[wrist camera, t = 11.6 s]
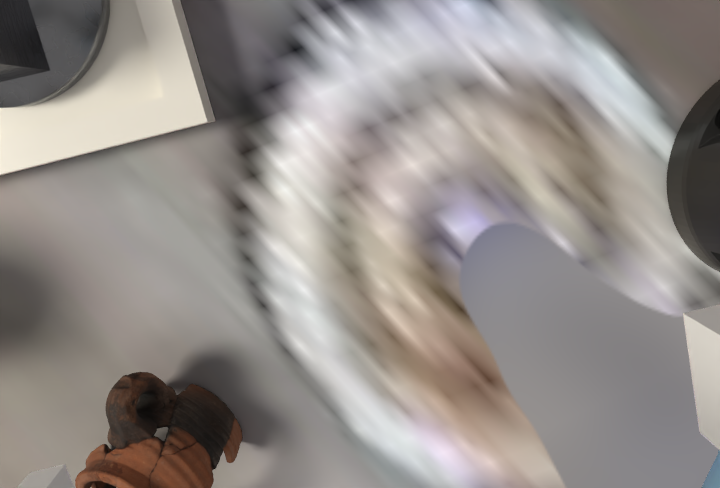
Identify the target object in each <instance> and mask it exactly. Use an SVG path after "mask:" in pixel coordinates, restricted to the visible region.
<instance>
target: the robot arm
mask: <svg viewBox="0 0 720 488" xmlns="http://www.w3.org/2000/svg"><path fill="white" fill-rule="evenodd" d="M667 195H668V202H669V208H670V212H671V215H672V218H673V221H674V224H675V226H676V228H677V230H678V232H679V234H680V236H681V237H682V239H683V240H684V242H685V243H686V245H687V246H688V247H689V248H690V250H691V251H692V252H693V253H694V254H695V255H696V256H697V257H698V258H699V259H701V260H702V261H703V262H704V263H706V264H707V265H709V266H710V267H712V268H713V269H715V270H717V271H719V272H720V80H719V81H718V82H716V83H715V84H714V85H713V86H712V87H711V88H710V89H709V90H708V91H707V92H705V94H704V95H703V96H702V97H701V98H700V99H699V100H698V102H697V103H696V104H695V105H694V107H693V108H692V109H691V111H690V112H689V114H688V115H687V117H686V119H685V120H684V122H683V124H682V126H681V128H680V130H679V132H678V134H677V137H676V139H675V142H674V145H673V148H672V151H671V155H670V159H669V164H668V172H667ZM683 317H684V324H685V331H686V338H687V346H688V353H689V360H690V367H691V375H692V381H693V389H694V396H695V403H696V410H697V418H698V424H699V431H700V433H701V434H702V435H703V436H704V437H705V438H706V439H707V440H709V441H710V442H711V443H712V444H713V445H714V446H715V447H716V448H717V449H719V452H718V455H717V457H716V459H715V461H714V463H713V465H712V468H711V469H710V471H709V474H708V475H707V477H706V480H705V482H704V484H703V486H702V488H720V304H719V305H715V306H711V307H707V308H703V309H699V310H694V311H690V312H686V313H683ZM17 488H74V485H73V483H72V480H71V478H70V475H69V473H68V470H67V468H66V465H65V464H63V465H59V466H55V467H50V468H46V469H42V470H38V471H34V472H30V473H29V474H28V475H27V476H26V478H25V479H24V480H23V481H22V482H21V483H20V485H19V486H18V487H17Z"/></svg>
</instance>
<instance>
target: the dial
mask: <svg viewBox="0 0 720 488" xmlns="http://www.w3.org/2000/svg"><path fill="white" fill-rule="evenodd" d="M109 16H110V0H0V108H20V107H27V106H33V105H37V104H40V103H43V102H46V101H49V100H51V99H53V98H55V97H57V96H59V95H61V94H62V93H64V92H66V91H67V90H69V89H70V88H71V87H73V86H74V85H75V84H76V83H77V82H78V81H79V80H80V79H82V77H83V76H84V75H85V74H86V73H87V71H88V70H89V69H90V68H91V66H92V65H93V63H94V61H95V60H96V58H97V57H98V54H99V52H100V50H101V48H102V45H103V43H104V40H105V36H106V33H107V29H108V23H109Z"/></svg>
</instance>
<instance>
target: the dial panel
mask: <svg viewBox="0 0 720 488" xmlns="http://www.w3.org/2000/svg"><path fill="white" fill-rule="evenodd" d="M214 121H215V117H214V114H213V111H212V107H211V104H210V100H209V97H208V93H207V90H206V87H205V83H204V80H203V76H202V73H201V69H200V66H199V63H198V59H197V56H196V52H195V49H194V46H193V42H192V39H191V35H190V32H189V28H188V25H187V22H186V18H185V15H184V11H183V8H182V4H181V1H180V0H110V16H109V23H108V29H107V33H106V36H105V40H104V43H103V45H102V48H101V50H100V52H99V54H98V57H97V58H96V60H95V61H94V63H93V65H92V66H91V68H90V69H89V70H88V71H87V73H86V74H85V75H84V76H83V77H82V79H80V80H79V81H78V82H77V83H76V84H75V85H74V86H73V87H71V88H70V89H69V90H67V91H66V92H64V93H62V94H61V95H59V96H57V97H55V98H53V99H51V100H49V101H46V102H43V103H40V104H37V105H33V106H27V107H20V108H0V176H1V175H5V174H9V173H13V172H17V171H21V170H25V169H29V168H33V167H37V166H41V165H45V164H49V163H53V162H57V161H61V160H64V159H68V158H72V157H76V156H80V155H84V154H88V153H92V152H96V151H100V150H104V149H108V148H112V147H116V146H120V145H124V144H128V143H132V142H135V141H139V140H143V139H147V138H151V137H155V136H159V135H163V134H167V133H171V132H175V131H179V130H183V129H187V128H191V127H195V126H199V125H203V124H206V123H210V122H214Z"/></svg>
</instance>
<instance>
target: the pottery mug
mask: <svg viewBox="0 0 720 488" xmlns="http://www.w3.org/2000/svg"><path fill="white" fill-rule="evenodd" d="M106 416H107V418H108V422H109V425H110V429H109V433H108V441H109V443H110V444H111V445H112V446H115V447H116V449H114V450H112V451H111V450H110V449H109V448H108V446H107V445H106V444H103V445H101V446H99V447H98V448H96V449H95V450H94V451H92V452H91V453H90V455H89V456H88V458H87V460H86V468H85V469H84V470H83V471H81V472H80V473H79V474H78V475H77V478H76V480H75V481H76V483H75V485H76V488H90V487H92V488H116V487H117V488H211V486H212V484H213V481H214V479H213V473H212V470H213V469H215V468H216V466H217V464H218V462H219V460H220V456H221V455H222V453H223V451H224V453H225V456H226V460H227V462H228V463H232V462H234V460H235V458H236V456H237V453H238V450H239V446H240V443H241V441H242V431H241V428H240V425H239V424H238V422H237V420H236V419H235V417H234V415H233V413H232V412H231V411H230V410H229V409H228V407H227V405H226V404H225V403H223V402H222V401H221V400H220V399H219V398H218V397H217V396H215V395H214V394H213V393H211V392H210V391H207V390H205V389H204V388H201V387H199V386H197V385H194V384H191V385H189V386H188V387H187V389H186V390H185V391H182V392H181V393H180V394H179V395H176V393H175V391H174V390H173V388H171V387H169V386H166V384H165V383H164V382H163V381H162V380H160V379H159V378H157V377H156V376H155V375H153V374H151V373H147V372H137V373H132V374H129V375H124V376H123V377H122V378H121V379H120V380H119V381H118V382H117V383H116V384H115V385H114V386H113V388H112V390H111V391H110V393H109V395H108V398H107V402H106ZM162 427H168V428H169V430H168V433H167V436H166V439H165V441H162V440H161V439H160V438H158V437H155V436H154V434H155V433H156V431H157V428H162Z"/></svg>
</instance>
